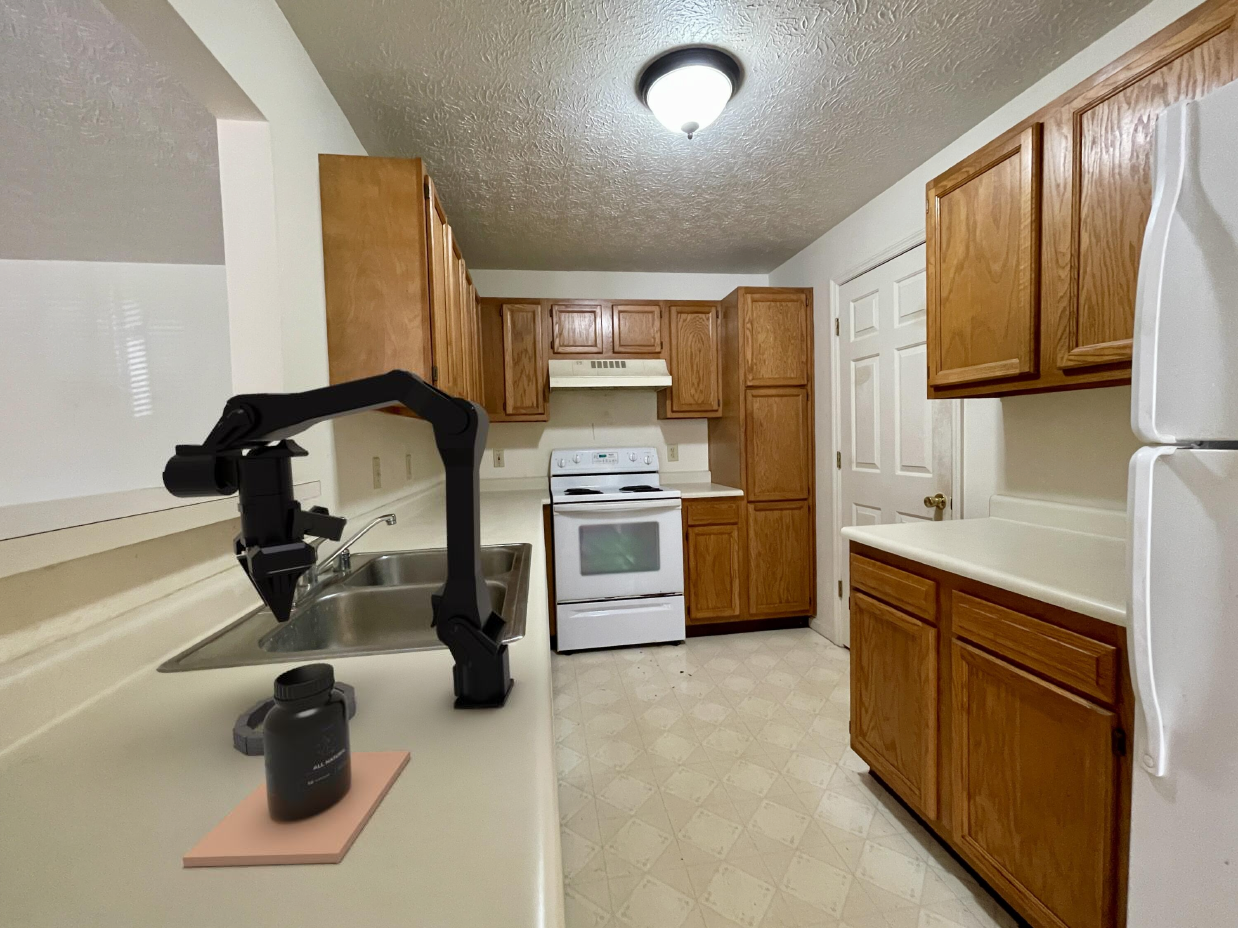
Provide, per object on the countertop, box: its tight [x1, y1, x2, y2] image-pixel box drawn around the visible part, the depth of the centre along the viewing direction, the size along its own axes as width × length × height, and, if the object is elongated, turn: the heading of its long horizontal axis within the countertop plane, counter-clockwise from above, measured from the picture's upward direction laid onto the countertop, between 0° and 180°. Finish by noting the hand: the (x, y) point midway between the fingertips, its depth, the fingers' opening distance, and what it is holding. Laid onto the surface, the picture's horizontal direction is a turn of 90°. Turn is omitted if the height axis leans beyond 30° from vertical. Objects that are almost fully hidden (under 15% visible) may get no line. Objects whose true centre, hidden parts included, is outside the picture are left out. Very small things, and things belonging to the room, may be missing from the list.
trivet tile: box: [182, 750, 411, 868], centre depth 46 cm, size 13×13×1 cm
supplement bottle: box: [262, 662, 352, 821], centre depth 46 cm, size 7×7×12 cm
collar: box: [232, 681, 356, 756], centre depth 60 cm, size 12×12×2 cm
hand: (276, 613), depth 63 cm, fingers open, 9 cm apart
